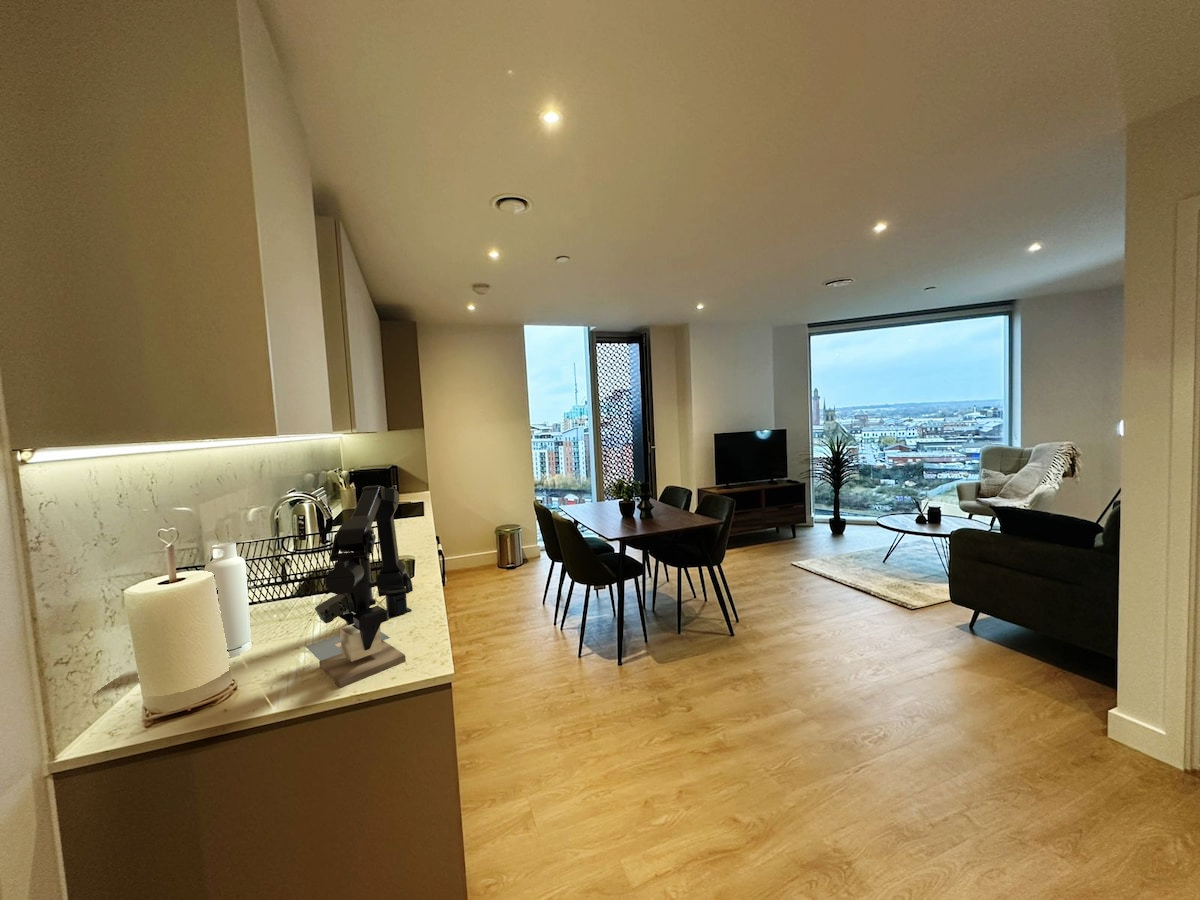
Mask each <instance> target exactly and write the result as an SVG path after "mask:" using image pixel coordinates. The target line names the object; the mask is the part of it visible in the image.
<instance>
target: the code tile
mask: <svg viewBox="0 0 1200 900" xmlns="http://www.w3.org/2000/svg"><path fill="white" fill-rule="evenodd" d="M380 632H381V639H382V640H383V641H385V640H388V639H391V637H390V636H388V635H387V634H385V633H384V632H382V631H380ZM304 646H305V648H306V649H307V650H308V651H309V652H310V653H312V655H314V657H315V658H317V659H318V661H322V660H324V659H327V658H330V657H333V656H336V655H338V654H341V653H342V650H341V635H340V634H338V635H335V636H332V637H331V636H330V637H328V638H326V639H322V640H320V641H316V642H313V643H309V644H308V645H304Z"/></svg>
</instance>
